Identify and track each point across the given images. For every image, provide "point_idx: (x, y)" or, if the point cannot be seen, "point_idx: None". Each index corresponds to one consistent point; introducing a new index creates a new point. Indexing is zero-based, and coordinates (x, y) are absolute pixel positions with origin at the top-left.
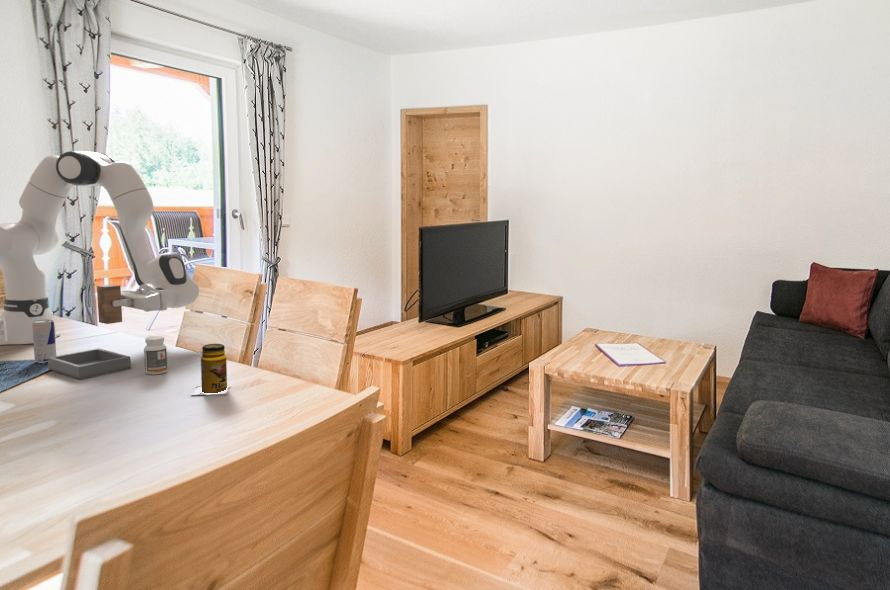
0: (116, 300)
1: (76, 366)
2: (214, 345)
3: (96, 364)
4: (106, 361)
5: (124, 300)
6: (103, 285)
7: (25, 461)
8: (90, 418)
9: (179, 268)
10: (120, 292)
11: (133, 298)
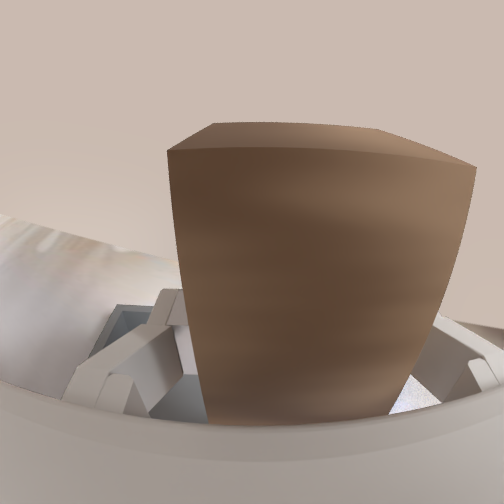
0: (159, 303)
1: (126, 305)
2: None
3: (101, 334)
4: (91, 352)
5: (104, 357)
6: (380, 134)
7: (22, 226)
8: (12, 264)
9: None
10: (181, 280)
11: (1, 382)
